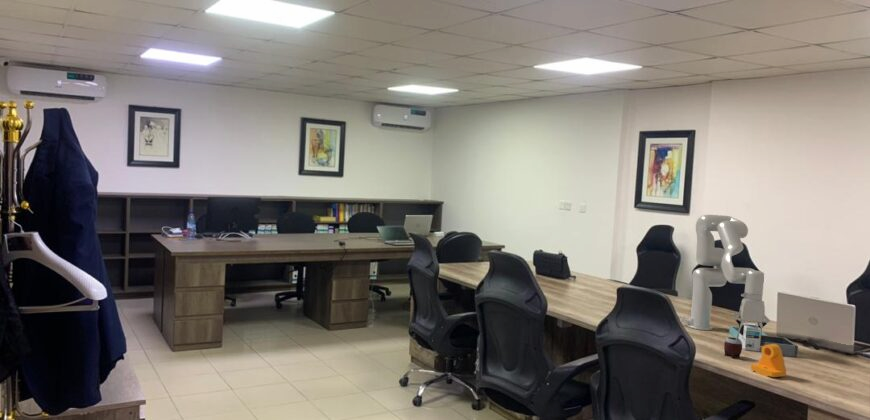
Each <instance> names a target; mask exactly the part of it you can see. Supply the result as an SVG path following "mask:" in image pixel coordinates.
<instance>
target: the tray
mask: <svg viewBox="0 0 870 420" xmlns="http://www.w3.org/2000/svg"><path fill="white" fill-rule="evenodd" d="M738 331H739V326H732V325H730V326H728V334H729V335H731V337H733V338H737V335H738ZM761 335H767V336H769V335H768V334H766V333H765V332H764V331H762V333H761ZM738 339H739V336H738Z"/></svg>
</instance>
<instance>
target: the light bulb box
mask: <svg viewBox="0 0 870 420" xmlns="http://www.w3.org/2000/svg"><path fill="white" fill-rule="evenodd" d="M743 326H744V331H743V335H741V334H740V333H739V339H740V340H741V342H742V350H745V351H752V352H753V351H755V352H761V346H760V340H761V328H759V327H758V325H756V324H755V323H751V322H750V323H749V322H745V323H744V324H743Z"/></svg>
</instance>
